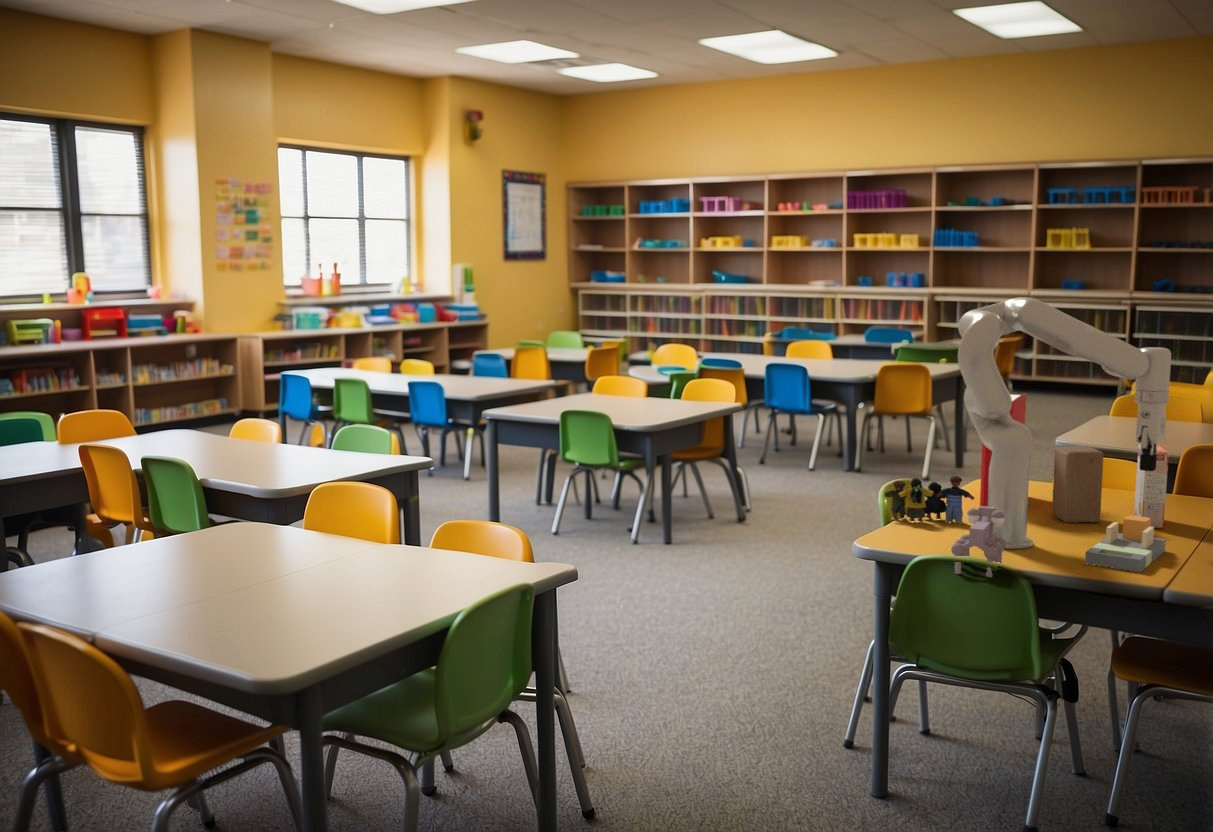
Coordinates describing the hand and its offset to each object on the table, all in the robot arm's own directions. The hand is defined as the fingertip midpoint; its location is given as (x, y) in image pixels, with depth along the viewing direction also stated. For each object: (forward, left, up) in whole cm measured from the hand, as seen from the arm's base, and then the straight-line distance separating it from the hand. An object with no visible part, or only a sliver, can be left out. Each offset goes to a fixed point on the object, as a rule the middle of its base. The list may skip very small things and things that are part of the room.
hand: (1147, 469), depth 271 cm
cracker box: (+20, +17, -19) cm, 32 cm away
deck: (-14, -8, -19) cm, 25 cm away
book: (+1, +54, -19) cm, 57 cm away
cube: (-7, -4, -16) cm, 18 cm away
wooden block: (+5, +28, -19) cm, 34 cm away
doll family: (-34, +42, -20) cm, 57 cm away
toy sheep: (-51, -1, -19) cm, 55 cm away
